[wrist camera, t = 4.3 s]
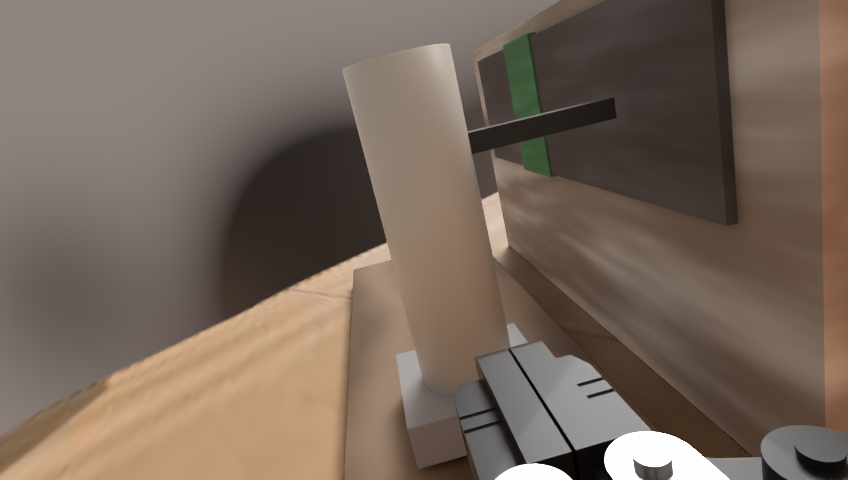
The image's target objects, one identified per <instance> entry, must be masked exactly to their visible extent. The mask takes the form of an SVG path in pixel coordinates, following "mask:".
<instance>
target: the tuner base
mask: <svg viewBox="0 0 848 480" xmlns="http://www.w3.org/2000/svg"><path fill="white" fill-rule="evenodd" d="M472 57H473V62H474V67H475V72H476V77H477V83H478V88H479V93H480V98H481V104H482V108H483V114H484V119H485V125H486V127H488V126H492V125H496V124H500V123H505V122H509V121H513V120H517V119H521V118H525V117H529V116H533V115H537V114H541V113H545V112H549V111H554V110H558V109H562V108H566V107H570V106H574V105H578V104H582V103H586V102H590V101H594V100H599V99H603V98H612V97H614V100H615V108H616V116H617V118H616V119H612V120H608V121H604V122H600V123H596V124H592V125H587V126H583V127H579V128H575V129H571V130H567V131H563V132H559V133H555V134H551V135H547V136H543V137H539V138H535V139H531V140H527V141H523V142H519V143H515V144H511V145H507V146H503V147H499V148H495V149H491V150H490V151H491V155H492V161H493V166H494V171H495V177H496V182H497V187H498V192H499V197H500V203H501V208H502V213H503V218H504V223H505V229H506V234H507V239H508V244H509V246H510V247H511V248H513V249H514V250H515V251H516V252H517V253H518V254H520V255H521V256H522V257H523V258H524V259H525V260H526V261H528V262H529V263H530V264H531V265H532V266H533V267H535V268H536V269H537V270H538V271H539V272H540V273H541V274H543V275H544V276H545V277H546V278H547V279H548V280H550V281H551V282H552V283H553V284H554V285H555V286H557V287H558V288H559V289H560V290H561V291H562V292H563V293H565V294H566V295H567V296H568V297H569V298H570V299H572V300H573V301H574V302H575V303H576V304H577V305H578V306H580V307H581V308H582V309H583V310H584V311H585V312H587V313H588V314H589V315H590V316H591V317H592V318H594V319H595V320H596V321H597V322H598V323H599V324H600V325H602V326H603V327H604V328H605V329H606V330H607V331H609V332H610V333H611V334H612V335H613V336H614V337H615V338H617V339H618V340H619V341H620V342H621V343H622V344H624V345H625V346H626V347H627V348H628V349H629V350H631V351H632V352H633V353H634V354H635V355H636V356H637V357H639V358H640V359H641V360H642V361H643V362H644V363H646V364H647V365H648V366H649V367H650V368H651V369H652V370H654V371H655V372H656V373H657V374H658V375H659V376H661V377H662V378H663V379H664V380H665V381H666V382H668V383H669V384H670V385H671V386H672V387H673V388H674V389H676V390H677V391H678V392H679V393H680V394H681V395H683V396H684V397H685V398H686V399H687V400H688V401H689V402H691V403H692V404H693V405H694V406H695V407H696V408H698V409H699V410H700V411H701V412H702V413H703V414H705V415H706V416H707V417H708V418H709V419H710V420H711V421H713V422H714V423H715V424H716V425H717V426H718V427H720V428H721V429H722V430H723V431H724V432H725V433H726V434H728V435H729V436H730V437H731V438H732V439H733V440H735V441H736V442H737V443H738V444H739V445H740V446H742V447H743V448H744V449H745V450H746V451H747V452H748V453H750V454H751V455H752V456H753V457H761V443H762V440H763V439H764V437H765V436H766V435H767V434H768V433H770V432H771V431H773V430H775V429H778V428H781V427H786V426H793V425H809V426H817V427H823V428H828V429H832V430H836V431H840V432H844V433H848V0H561V1H559V2H557V3H556V4H554V5H552V6H550V7H549V8H547V9H545V10H544V11H542V12H540V13H538V14H537V15H535V16H533V17H532V18H530V19H528V20H526V21H525V22H523V23H521V24H520V25H518V26H516V27H514V28H513V29H511V30H509V31H508V32H506V33H504V34H502V35H501V36H499V37H497V38H496V39H494V40H492V41H491V42H489V43H487V44H486V45H484V46H482V47H480V48H479V49H477V50H475V51H473V52H472ZM493 261H494V266H495V271H496V276H497V281H498V285H499V290H500V295H501V300H502V305H503V310H504V315H505V320H506V325H508V324H512V323H514V324H515V326H516V327H517V328H518V330H519V331H520V332H521V334H522V335H523V336H524V338H525V339H526V340H527V342H532V341H536V340H541V341H542V342H543V343H544V344H545V345H546V347H547V348H548V349H549V350H550V352H551V353H552V354H553V355H554V357H555V358H560V357H563V356H567V355H572V356H574V357H576V358H579V359H581V360H583V361H585V362H587V363H590V364H591V365H592V367H593V368H594V369H595V370H596V371H597V372H598V373H599V374H600V375H601V376H602V378H603V380H605V381H606V382H607V383H608V384H609V385H610V386H611V387H612V388H613V391H614V392H615V391H616V392H617V394H618V395H619V396H620V397H621V398H622V399H623V400H624V401H625V402H626V403H627V404H628V405H629V406H630V408H631V409H632V410H633V411H634V412H635V413H636V414H637V415H638V416H639V417H640V418H641V419H642V420H643V422H644V423H645V424H646V425H647V426H648V427H649V428H650V429H651V430H652V431H653V432H657V433H661V432H660V431H659V430H658V429H657V428H656V427H655V426H654V425H653V424H652V423H651V422H650V421H649V420H648V419H647V418H646V417H645V416H644V414H643V413H642V412H641V411H640V410H639V409H638V408H637V407H636V406H635V405H634V404H633V403H632V402H631V401H630V400H629V399H628V398H627V397H626V396H625V394H624V393H623V392H622V391H621V390H620V389H619V388H618V387H617V386H616V385H615V384H614V383H613V382H612V381H611V380H610V379H609V378H608V377H607V376H606V375H605V373H604V372H603V371H602V370H601V369H600V368H599V367H598V366H597V365H596V364H595V363H594V362H593V361H592V360H591V359H590V358H589V357H588V356H587V355H586V353H585V352H584V351H583V350H582V349H581V348H580V347H579V346H578V345H577V344H576V343H575V342H574V341H573V340H572V339H571V338H570V337H569V336H568V335H567V334H566V332H565V331H564V330H563V329H562V328H561V327H560V326H559V325H558V324H557V323H556V322H555V321H554V320H553V319H552V318H551V317H550V316H549V315H548V314H547V312H546V311H545V310H544V309H543V308H542V307H541V306H540V305H539V304H538V303H537V302H536V301H535V300H534V299H533V298H532V297H531V296H530V295H529V294H528V293H527V291H526V290H525V289H524V288H523V287H522V286H521V285H520V284H519V283H518V282H517V281H516V280H515V279H514V278H513V277H512V276H511V275H510V274H509V273H508V271H507V270H506V269H505V268H504V267H503V266H502V265H501V264H500V263H499V262H498V261H497V260H496V259H495V258H494V257H493ZM412 350H415V347H414V343H413V339H412V336H411V332H410V328H409V324H408V320H407V316H406V312H405V309H404V305H403V301H402V297H401V293H400V289H399V286H398V282H397V278H396V274H395V270H394V266H393V263H392V260H390V261H386V262H382V263H379V264H375V265H371V266H367V267H363V268H359V269H355V270H354V276H353V298H352V319H351V341H350V363H349V385H348V406H347V428H346V450H345V472H344V480H475V479H474V476H473V473H472V470H471V466H470V463H469V460H468V456H467V455H466V456H463V457H459V458H456V459H452V460H449V461H445V462H442V463H438V464H435V465H431V466H428V467H424V468H421V469H418V467H417V463H416V460H415V456H414V452H413V449H412V445H411V442H410V438H409V435H408V431H407V425H406V419H405V412H404V405H403V398H402V392H401V385H400V378H399V371H398V365H397V358H396V355H397V354H401V353H405V352H408V351H412Z"/></svg>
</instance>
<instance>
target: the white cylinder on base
mask: <svg viewBox="0 0 848 480" xmlns="http://www.w3.org/2000/svg"><path fill="white" fill-rule="evenodd" d="M343 75H344V78H345V82H346V86H347V90H348V94H349V97H350V101H351V105H352V109H353V113H354V117H355V121H356V124H357V128H358V132H359V136H360V139H361V144H362V147H363V151H364V155H365V159H366V163H367V167H368V170H369V174H370V178H371V182H372V185H373V190H374V194H375V197H376V201H377V205H378V209H379V213H380V216H381V220H382V224H383V228H384V232H385V236H386V240H387V243H388V247H389V251H390V255H391V259H392V263H393V266H394V270H395V274H396V278H397V282H398V286H399V289H400V293H401V297H402V301H403V305H404V309H405V312H406V316H407V320H408V324H409V328H410V332H411V336H412V339H413V343H414V347H415V350H412V351H408V352H405V353H401V354H397V355H396V358H397V365H398V371H399V378H400V385H401V392H402V398H403V405H404V412H405V419H406V425H407V431H408V435H409V438H410V442H411V445H412V449H413V452H414V456H415V460H416V463H417V467H418V469H421V468H424V467H428V466H431V465H435V464H438V463H442V462H445V461H449V460H452V459H456V458H459V457H463V456H466V455H467V452H466V448H465V444H464V440H463V436H462V431H461V427H460V423H459V419H458V415H457V411H456V407H455V403H454V400H455V397H456V394H457V391H458V387H459V385H463V384H466V383H470V382H473V381H477V380H479V377H478V372H477V368H476V363H475V357H478V356H481V355H485V354H489V353H492V352H496V351H500V350H503V349H507V350H508V348H510V347H514V346H517V345H521V344H525V343H528V342H527V340H526V339H525V338H524V336H523V335H522V334H521V332H520V331H519V330H518V328H517V327H516V326H515V324H514V323H512V324H508V325H506V320H505V315H504V310H503V305H502V300H501V295H500V290H499V285H498V281H497V276H496V271H495V266H494V261H493V256H492V251H491V246H490V241H489V236H488V231H487V226H486V221H485V216H484V211H483V207H482V202H481V197H480V192H479V187H478V182H477V177H476V172H475V167H474V162H473V157H472V154H474V153H478V152H483V151H487V150H491V149H495V148H499V147H503V146H507V145H511V144H515V143H519V142H523V141H527V140H531V139H535V138H539V137H543V136H547V135H551V134H555V133H559V132H563V131H567V130H571V129H575V128H579V127H583V126H587V125H592V124H596V123H600V122H604V121H608V120H612V119H616V118H617V116H616V108H615V100H614V97H612V98H603V99H599V100H594V101H590V102H586V103H582V104H578V105H574V106H570V107H566V108H562V109H558V110H554V111H549V112H545V113H541V114H537V115H533V116H529V117H525V118H521V119H517V120H513V121H509V122H505V123H500V124H496V125H492V126H488V127H484V128H480V129H476V130H472V131H468V132H467V129H466V123H465V118H464V113H463V108H462V103H461V98H460V93H459V88H458V83H457V78H456V73H455V69H454V64H453V59H452V54H451V49H450V44H434V45H428V46H422V47H417V48H412V49H407V50H403V51H398V52H394V53H390V54H386V55H383V56H379V57H375V58H372V59H368V60H365V61H362V62H359V63H356V64H353V65H351V66H348V67H346V68H344V69H343Z"/></svg>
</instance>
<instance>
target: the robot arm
mask: <svg viewBox="0 0 848 480" xmlns="http://www.w3.org/2000/svg"><path fill="white" fill-rule="evenodd" d="M475 363H476V368H477V372H478V377H479V380H477V381H473V382H470V383H466V384H463V385H459V387H458V391H457V394H456V397H455V400H454V403H455V407H456V411H457V415H458V419H459V423H460V427H461V431H462V436H463V440H464V444H465V448H466V452H467V456H468V460H469V463H470V466H471V470H472V473H473V476H474V479H475V480H848V433H844V432H840V431H836V430H832V429H828V428H823V427H817V426H809V425H793V426H786V427H781V428H778V429H775V430H773V431H771V432H770V433H768V434H767V435H766V436H765V437H764V439H763V440H762V443H761V457H745V458H708V457H703V456H702V455H700V454H699V453H698V452H697V451H696V450H695V449H694V448H692V447H691V446H690V445H688V444H687V443H686V442H684V441H682V440H680V439H678V438H676V437H673V436H670V435H667V434H663V433H657V432H653V431H652V430H651V429H650V428H649V427H648V426H647V425H646V424H645V423H644V422H643V420H642V419H641V418H640V417H639V416H638V415H637V414H636V413H635V412H634V411H633V410H632V409H631V408H630V406H629V405H628V404H627V403H626V402H625V401H624V400H623V399H622V398H621V397H620V396H619V395H618V394H617V392H616V391H615V392H614V391H613V388H612V387H611V386H610V385H609V384H608V383H607V382H606V381H605V380H603V378H602V376H601V375H600V374H599V373H598V372H597V371H596V370H595V369H594V368H593V367H592V365H591V364H590V363H587V362H585V361H583V360H581V359H579V358H576V357H574V356H572V355H567V356H563V357H560V358H555V357H554V355H553V354H552V353H551V352H550V350H549V349H548V348H547V347H546V345H545V344H544V343H543V342H542V341H541V340H536V341H532V342H528V343H525V344H521V345H517V346H514V347H510V348H508V350H507V349H503V350H500V351H496V352H492V353H489V354H485V355H481V356H478V357H475Z"/></svg>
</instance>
